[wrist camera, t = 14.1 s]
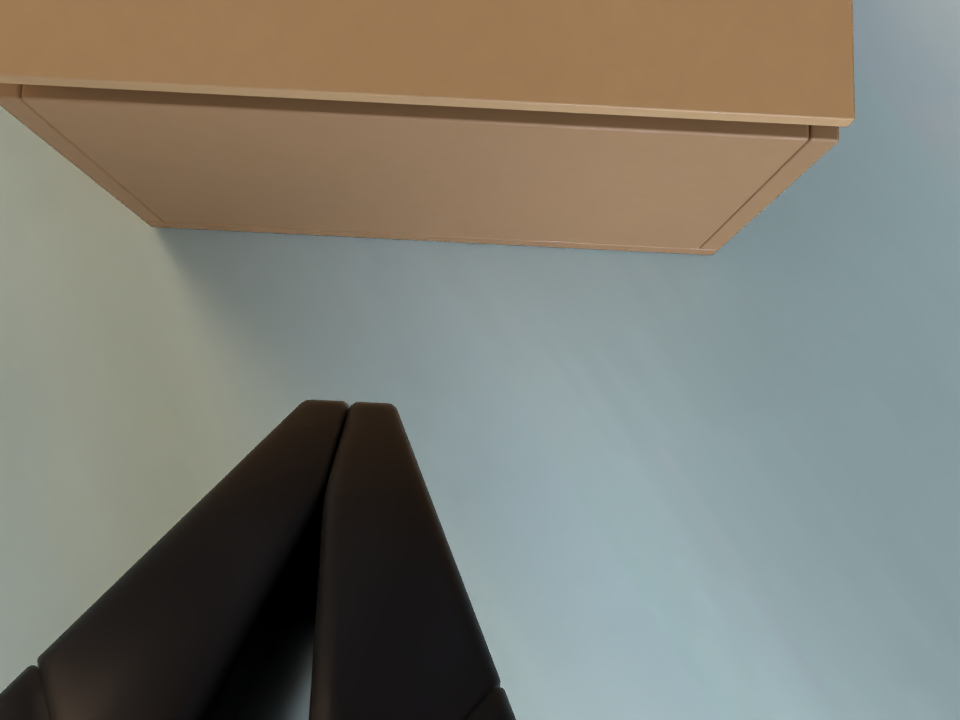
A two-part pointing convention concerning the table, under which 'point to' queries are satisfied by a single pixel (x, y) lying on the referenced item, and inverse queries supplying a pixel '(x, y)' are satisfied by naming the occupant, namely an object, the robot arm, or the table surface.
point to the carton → (422, 167)
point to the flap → (456, 53)
